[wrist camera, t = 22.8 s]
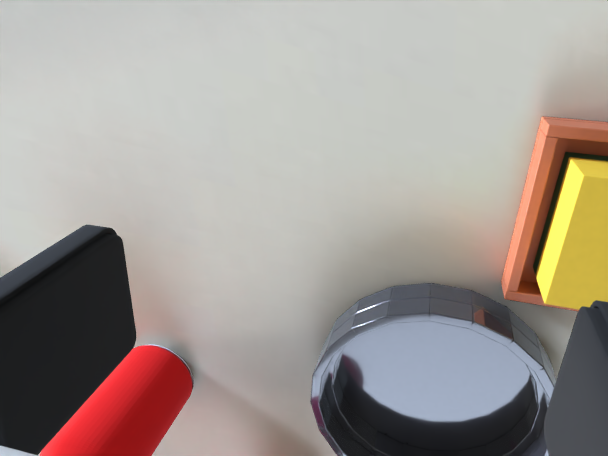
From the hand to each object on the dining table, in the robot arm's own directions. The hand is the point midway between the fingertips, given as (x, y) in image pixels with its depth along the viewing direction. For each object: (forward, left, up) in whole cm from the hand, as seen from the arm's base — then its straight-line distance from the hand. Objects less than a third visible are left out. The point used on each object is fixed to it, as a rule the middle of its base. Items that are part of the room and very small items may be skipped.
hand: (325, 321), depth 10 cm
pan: (+7, +17, -20) cm, 27 cm away
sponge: (-6, +10, -20) cm, 23 cm away
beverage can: (+27, +9, -20) cm, 35 cm away
